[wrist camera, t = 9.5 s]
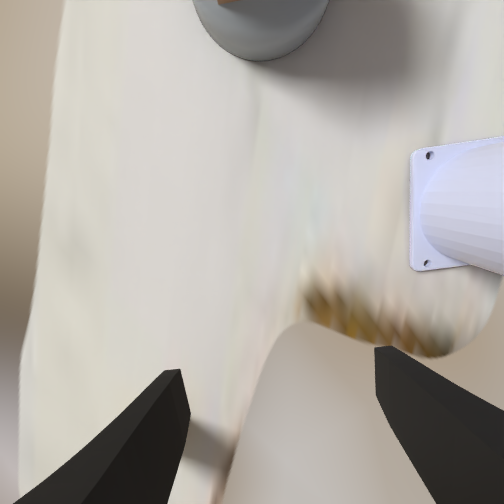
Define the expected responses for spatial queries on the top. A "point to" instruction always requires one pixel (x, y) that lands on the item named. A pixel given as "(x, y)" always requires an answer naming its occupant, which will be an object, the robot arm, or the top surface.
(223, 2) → the walnut block
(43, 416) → the top surface
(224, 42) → the grey rounded dome
